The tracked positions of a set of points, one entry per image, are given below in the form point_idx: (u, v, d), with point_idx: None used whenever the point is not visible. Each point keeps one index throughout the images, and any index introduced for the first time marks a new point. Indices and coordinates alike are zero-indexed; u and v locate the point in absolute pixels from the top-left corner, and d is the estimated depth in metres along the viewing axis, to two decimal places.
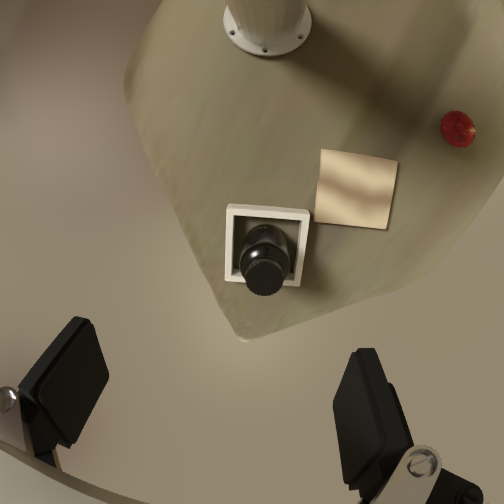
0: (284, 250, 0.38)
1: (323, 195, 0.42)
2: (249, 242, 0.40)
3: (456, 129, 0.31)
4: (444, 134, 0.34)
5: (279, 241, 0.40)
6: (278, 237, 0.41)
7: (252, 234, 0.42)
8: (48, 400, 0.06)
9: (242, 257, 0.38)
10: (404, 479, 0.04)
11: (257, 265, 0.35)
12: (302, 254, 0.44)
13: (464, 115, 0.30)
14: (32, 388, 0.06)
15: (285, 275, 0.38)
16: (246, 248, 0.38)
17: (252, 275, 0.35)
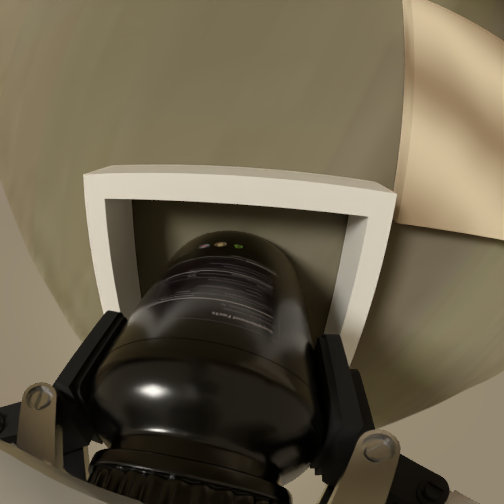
0: (302, 385, 0.06)
1: (428, 132, 0.10)
2: (130, 321, 0.08)
3: None
4: None
5: (275, 322, 0.08)
6: (272, 296, 0.09)
7: (165, 274, 0.10)
8: (86, 394, 0.07)
9: (89, 399, 0.06)
10: (362, 466, 0.05)
11: None
12: (354, 334, 0.12)
13: None
14: (71, 382, 0.06)
15: (297, 476, 0.06)
16: (103, 359, 0.06)
17: None
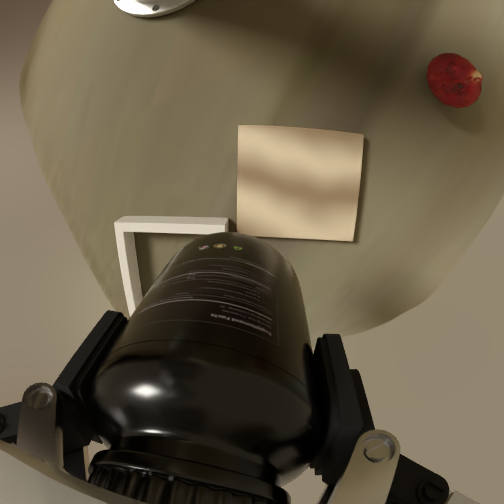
0: (300, 387, 0.06)
1: (246, 195, 0.28)
2: (129, 323, 0.08)
3: (450, 76, 0.17)
4: (434, 87, 0.20)
5: (274, 324, 0.08)
6: (271, 298, 0.09)
7: (165, 275, 0.10)
8: (86, 394, 0.07)
9: (89, 400, 0.06)
10: (362, 466, 0.05)
11: None
12: None
13: (460, 56, 0.17)
14: (71, 382, 0.06)
15: (296, 477, 0.06)
16: (103, 360, 0.06)
17: None
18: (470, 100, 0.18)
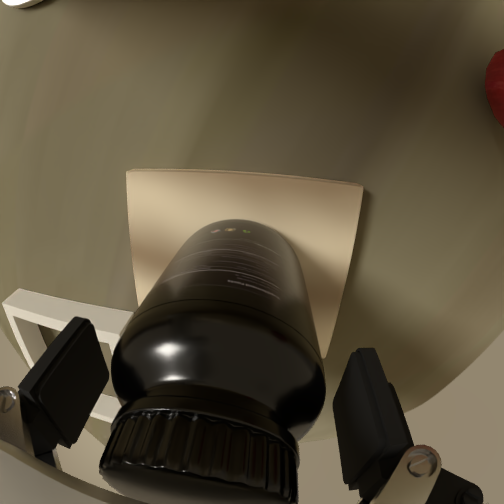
0: (305, 343, 0.07)
1: (149, 288, 0.16)
2: (152, 293, 0.09)
3: None
4: (502, 105, 0.09)
5: (281, 291, 0.09)
6: (278, 272, 0.10)
7: (181, 254, 0.11)
8: (48, 400, 0.06)
9: (112, 363, 0.07)
10: (404, 479, 0.04)
11: (137, 468, 0.04)
12: None
13: None
14: (32, 388, 0.06)
15: (302, 437, 0.08)
16: (128, 324, 0.08)
17: (130, 486, 0.04)
18: None
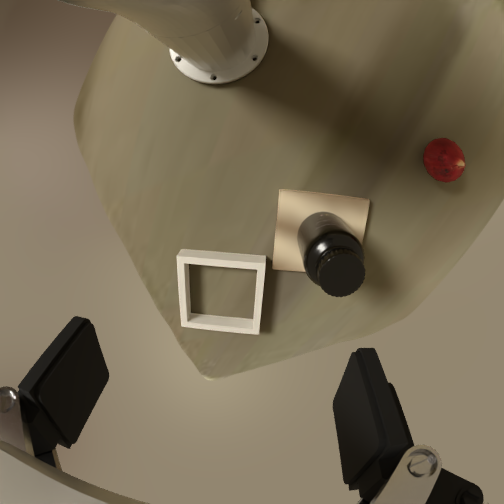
0: None
1: (281, 241, 0.39)
2: (315, 230, 0.31)
3: (440, 162, 0.28)
4: (427, 167, 0.31)
5: (350, 230, 0.31)
6: (346, 226, 0.32)
7: (314, 222, 0.34)
8: (48, 400, 0.06)
9: (309, 248, 0.30)
10: (404, 479, 0.04)
11: (336, 257, 0.26)
12: (259, 303, 0.41)
13: (452, 144, 0.27)
14: (32, 388, 0.06)
15: None
16: (314, 237, 0.30)
17: (328, 270, 0.27)
18: (453, 179, 0.29)
